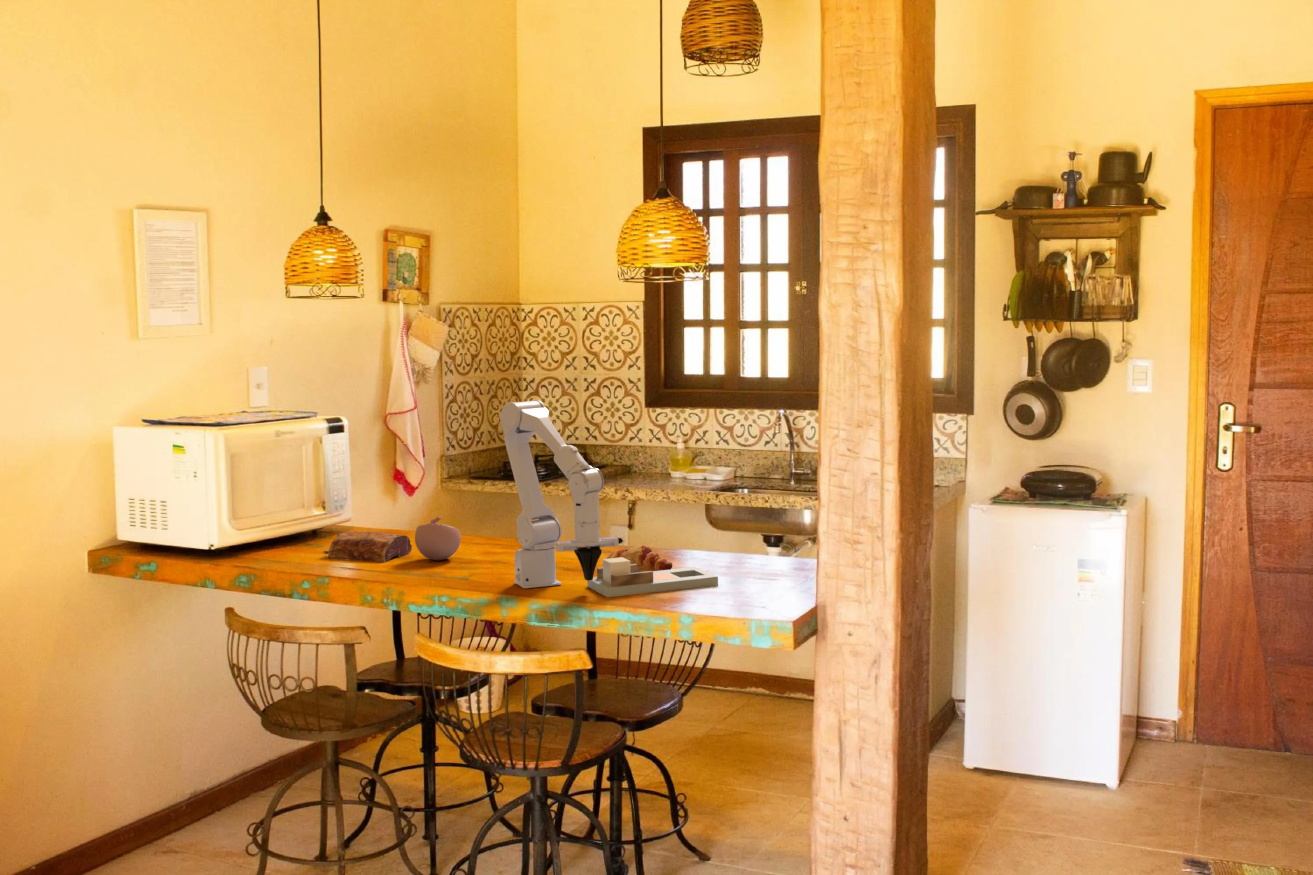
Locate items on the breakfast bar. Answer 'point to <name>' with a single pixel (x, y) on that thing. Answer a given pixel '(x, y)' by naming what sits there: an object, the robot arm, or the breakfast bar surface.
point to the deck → (658, 582)
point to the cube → (615, 567)
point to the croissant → (643, 559)
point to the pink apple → (437, 540)
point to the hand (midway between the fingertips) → (588, 579)
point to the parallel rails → (628, 577)
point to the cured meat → (369, 546)
